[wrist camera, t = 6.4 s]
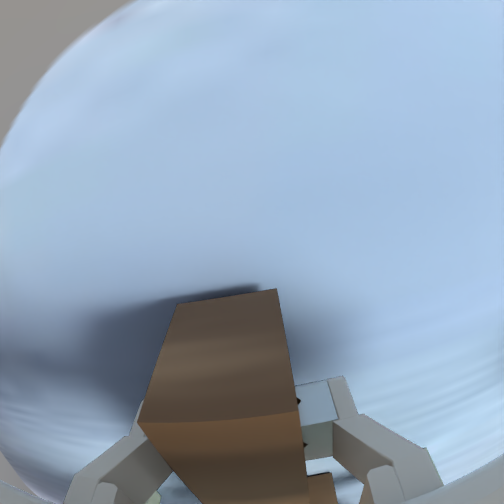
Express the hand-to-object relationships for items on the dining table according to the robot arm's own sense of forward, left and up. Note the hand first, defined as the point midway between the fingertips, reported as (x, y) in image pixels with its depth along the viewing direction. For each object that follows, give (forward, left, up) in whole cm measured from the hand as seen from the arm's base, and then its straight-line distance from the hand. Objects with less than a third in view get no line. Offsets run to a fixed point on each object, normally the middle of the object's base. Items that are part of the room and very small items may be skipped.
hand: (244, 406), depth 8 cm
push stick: (-4, 0, -2) cm, 4 cm away
